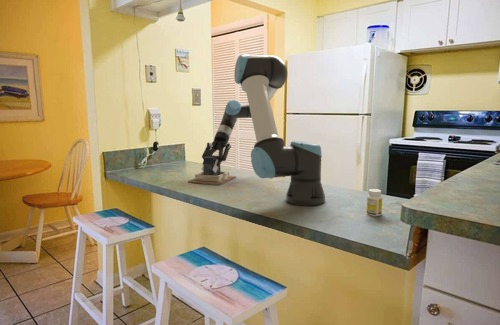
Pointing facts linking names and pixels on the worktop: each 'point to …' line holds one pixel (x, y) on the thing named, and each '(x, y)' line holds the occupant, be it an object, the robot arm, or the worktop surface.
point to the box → (210, 165)
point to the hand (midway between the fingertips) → (208, 170)
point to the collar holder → (212, 178)
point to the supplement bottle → (374, 202)
